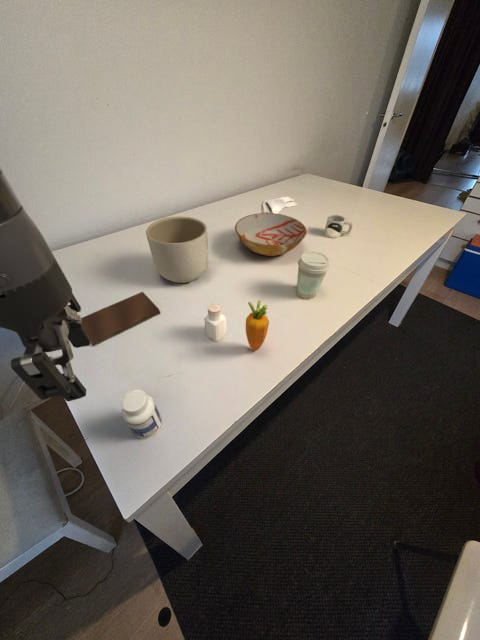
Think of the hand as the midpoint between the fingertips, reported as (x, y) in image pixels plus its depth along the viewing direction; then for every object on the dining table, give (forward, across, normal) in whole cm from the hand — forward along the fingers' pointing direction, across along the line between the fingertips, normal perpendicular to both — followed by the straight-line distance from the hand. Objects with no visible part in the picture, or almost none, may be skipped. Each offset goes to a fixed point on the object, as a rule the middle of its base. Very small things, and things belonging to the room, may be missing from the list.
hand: (80, 368), depth 35 cm
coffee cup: (+20, -26, +53) cm, 62 cm away
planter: (+20, -47, +19) cm, 55 cm away
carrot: (+20, -10, +30) cm, 38 cm away
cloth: (+20, -90, +71) cm, 116 cm away
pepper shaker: (+20, -18, +22) cm, 35 cm away
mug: (+20, -56, +83) cm, 102 cm away
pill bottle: (+20, 0, +4) cm, 21 cm away
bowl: (+20, -54, +52) cm, 78 cm away
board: (+20, -31, 0) cm, 37 cm away
